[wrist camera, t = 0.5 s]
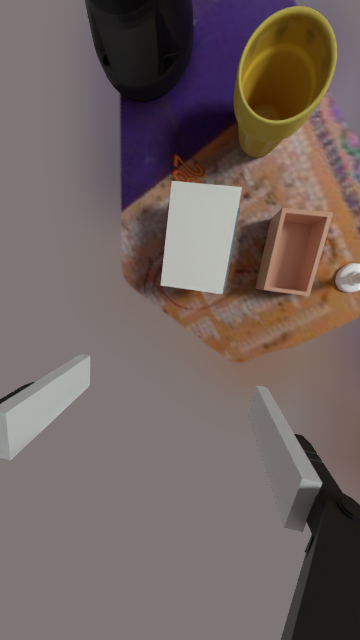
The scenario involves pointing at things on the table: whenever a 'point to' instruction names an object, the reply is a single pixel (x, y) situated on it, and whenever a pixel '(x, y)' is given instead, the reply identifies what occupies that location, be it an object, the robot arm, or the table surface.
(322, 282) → the table surface
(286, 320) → the table surface
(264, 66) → the plant pot
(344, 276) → the chess piece
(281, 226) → the open box
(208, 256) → the board
